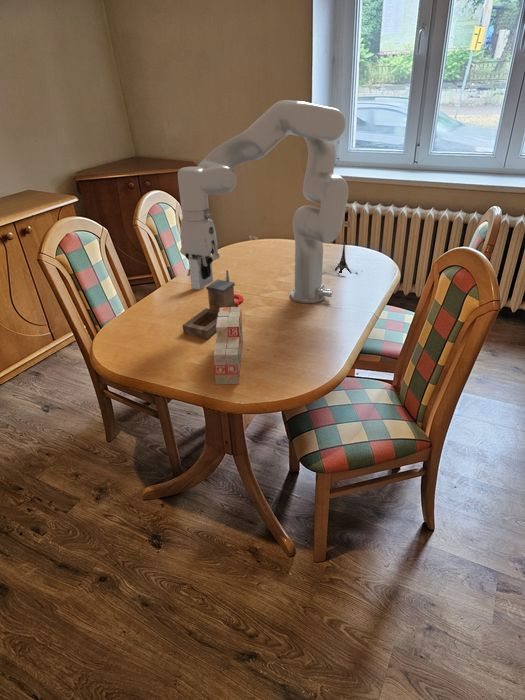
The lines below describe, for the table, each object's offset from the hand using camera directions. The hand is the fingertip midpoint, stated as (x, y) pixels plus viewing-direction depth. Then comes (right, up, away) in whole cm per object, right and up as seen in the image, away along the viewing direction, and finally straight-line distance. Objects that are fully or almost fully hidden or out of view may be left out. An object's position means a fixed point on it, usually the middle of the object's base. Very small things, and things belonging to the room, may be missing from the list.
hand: (201, 276), depth 137 cm
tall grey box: (0, -2, +1) cm, 3 cm away
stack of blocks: (+9, -26, -8) cm, 29 cm away
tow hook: (+7, -5, +26) cm, 27 cm away
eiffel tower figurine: (+50, +9, +47) cm, 69 cm away
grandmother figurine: (-6, +1, +36) cm, 37 cm away
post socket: (+2, -13, +12) cm, 18 cm away
